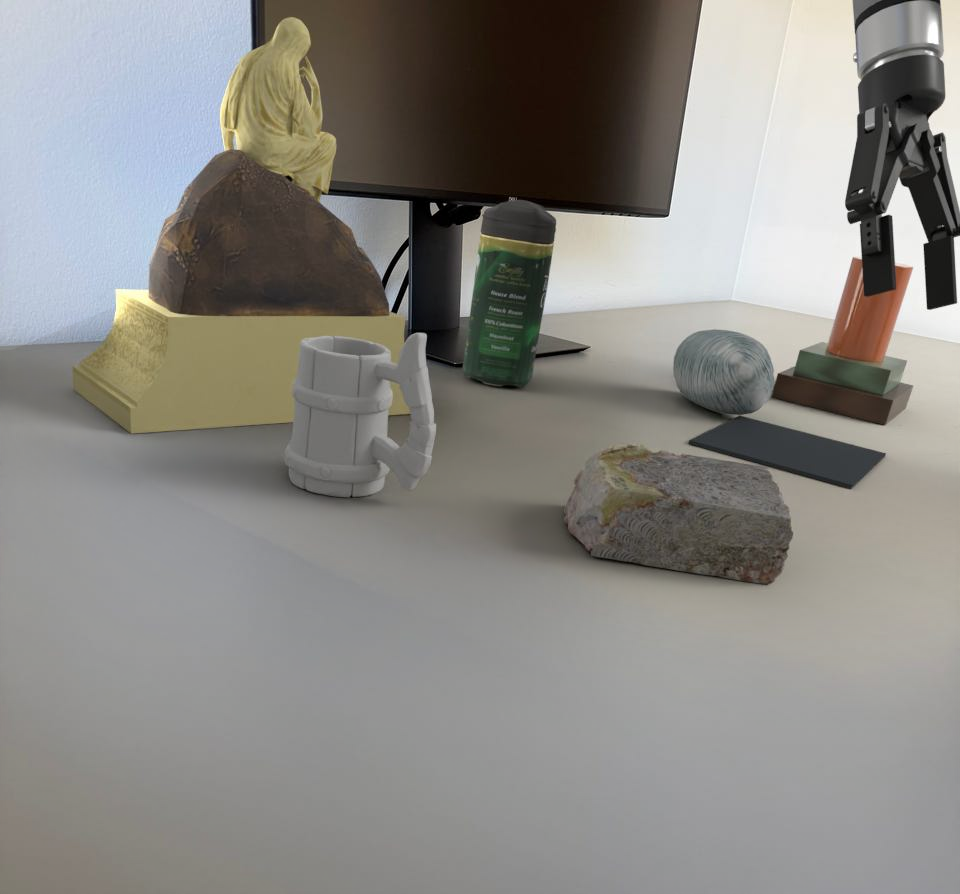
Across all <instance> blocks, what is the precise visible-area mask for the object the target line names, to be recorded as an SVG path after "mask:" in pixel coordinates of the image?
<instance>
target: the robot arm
mask: <svg viewBox="0 0 960 894" xmlns="http://www.w3.org/2000/svg"><path fill="white" fill-rule="evenodd" d="M852 11H853V12H852V13H853V26H854V35H855V37H854V38H855V52H854V53H853V55H852V61H853V63H855V64H856V71H857V73H856V74H857V77H858V79H859V80H860V81H859V83H858V85H857V95H858V96H857V99H858V114H857V115H856V141H855V147H854V153H853V155H852V156H853V157H852V163H851V168H850V172H849V178H848V184H847V188H846V194H845V200H844V206H845V209H846V211H848V212H846V219H847V223H848V224H849V225H853V224H857V223H859V222H860V223H859V235H860V251H861V252H860V253H861V257H862V270H863V287H864V296H866V297H869V296H873V295H877V294H880V293H884V292H888V291H892V290H895V289H896V273H895V262H896V257H895V256H896V255H895V239H894V238H895V237H894V223H893V221H894V220H893V215H892V214H886V213H887V211H888V208H889V206H890V202H891V200H892V197H893V194H894V191H895V189H896V186H897V184H898V180H899V181H900V184H901V185H902V186H903V188H904V187H905V188H907V189H908V191H909V193H910V197H911V198H912V201H913V204H914V207H915V209H916V212H917V215H918V217H919V220H920V223H921V226H922V229H923V231H924V234H925V236H926V239H927V242H925V243H923V247H922V248H923V263H924V265H923V266H924V280H925V281H924V283H925V299H926V300H925V301H926V310H927V311H928V310H929V311H931V310H937V309H939V308H944V307H947V306H952V305H955V304H958V292H957V291H958V289H957V271H956V252H955V238H957V237H960V207H959V202H958V198H957V193H956V189H955V185H954V181H953V175H952V171H951V167H950V163H949V158H948V151H947V143H946V142H947V138H946V135H945V133H944V132H939V133H937V134H934V135H933V132H932V130H931V128H930V123H929V119H930V117H931V116H932V115H933V114H934V113H935V112H936V111H938V110H939V108H941V107H942V106H943V104H944V102H945V100H946V80H945V79H946V78H945V76H946V75H945V63H944V61H943V60H942V59H941V58H942V57H944V52H945V49H944V48H945V47H944V46H945V45H944V31H943V14H942V4H941V0H852ZM860 191H861V192H860ZM884 214H886V215H884Z"/></svg>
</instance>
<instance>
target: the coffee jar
mask: <svg viewBox="0 0 960 894" xmlns="http://www.w3.org/2000/svg"><path fill="white" fill-rule="evenodd" d="M481 216H482V221H481V226H480V234H479V241H478V247H477V248H478V249H477V257H476V265H475V273H474V279H473V280H474V281H473V288H472V295H471V304H470V311H469V312H470V313H469V318H468V319H469V320H468V326H467V333H466V340H465V346H464V354H463V363H462V373H463V375H464V376H465V377H466V378H468V379H473V380H476V381H480V382H482V384H484V385H489V386H493V387H503V386H514V387H516V388H517V387H524V386H525V385H527V384H528V383H529V382H530V381H531V379H532V377H533V374H534V373H533V372H534V367H535V363H536V362H535V361H536V356H537V349H538V343H539V339H540V338H539V337H540V331H541V326H542V320H543V314H544V309H545V303H546V298H547V291H548V288H549V287H548V285H549V281H550V271H551V266H552V259H553V258H552V257H553V252H554V245H555V243H554V242H555V238H556V231H557V219H556V217H555V216H553V215H552V214H551V213H550V212H549V211H547V210H546V209H545V207H544V206H543V205H541V204H538V203H535V202H532V201H530V200H524V199H513V200H512V199H511V200H507V201H504V202H500V203H499V204H497V205H494V206H490V207H488V208H486V209H485V210H484V211H483V214H481Z"/></svg>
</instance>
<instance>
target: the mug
mask: <svg viewBox="0 0 960 894" xmlns="http://www.w3.org/2000/svg"><path fill="white" fill-rule="evenodd" d="M427 338H428V335H427V333H425V332H415V333H413V334H410V335H409V336H408V337H407V339H406V340H405V341H404V344H403V346H402V348H401V350H400V353H399V358H398V365H397V364H395V363H392V362H391V351H390V350H389V349H388V348H386V347H385V346H383V345H380V344H378V343H373V342H370V341H366V340H361V339H356V338H350V337H342V336H334V337H333V338H332V337H331V336H321V337H312V338H304V339H303V340H301V341H300V347H299V358H298V370H297V378H296V379H295V380H294V381H293V385H292V396H293V397H294V398H295V405H294V416H293V422H292V428H291V429H292V431H291V440H290V442H289V443H288V444H287V445H286V447H285V453H284V461H285V464H286V466H288V477H289V480H290V481H291V482H290V483H292V484H293V485H294V486H296V487H298V488H299V489H302V490H306V491H307V492H311V493H315V494H318V495H322V496H323V495H324V496H330V497H338V498H350V497H351V496H352V498H356V497H366V496H372V495H375V494H378V493H379V492H380V491H381V490H383V488H384V486H385V479H386V476H387V475H388V474H389V472H390V471H391V472H392V473H393V475H394V476H395V478H396V480H397V482H398V483H399V485H400V487H401V489H402V490H404V491H406V492H410V491H412V490H414V489H415V488H416V487H417V486H418V483H419V482H420V480H421V478H422V476H425V475H426V474H427V473H428V471H429V468H430V466H431V463H432V460H433V456H432V454H433V448H434V445H435V444H434V443H435V439H436V433H437V423H436V422H435V409H434V403H433V400H432V399H433V394H432V388H431V383H430V378H429V377H430V376H429V368H428V366H427V356H426V355H427V353H426V347H427V340H428V339H427ZM390 381H392V382H395V383H398V384H400V386H399V388H400V390H401V392H402V395H403V398H404V401H405V403H406V405H407V406H408V407H409V411H410V414H409V415H410V418H411V420H410V421H409V431H408V439H407V440H405V441H404V443H403V444H402V445H401V446H400V445H398V444H397V443H396V442H395V441H394V440H393V439H392V438H390V437H389V436H388V426H389V425H388V424H389V420H388V419H389V415H388V409H389V408H390V406H391V405H392V399H393V392H392V390H391V388H390Z"/></svg>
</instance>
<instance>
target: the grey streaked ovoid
mask: <svg viewBox="0 0 960 894" xmlns="http://www.w3.org/2000/svg"><path fill="white" fill-rule="evenodd" d="M774 369H775V368H774V365H773V362H772V358H771V356H770V353H769V352H768V349H767V348H766V347H765V346H764V345H763V344H762V343H761V342H760V341H759V340H758V339H755V338H753V336H750V335H747V334H745V333H743V332H738V331H733V330H728V329H716V328H715V329H705V330H699V331H696V332H693V333H691V334H690V335H688V336H687V337H686V338H684V339H683V340H682V341H681V342H680V344H679V345H678V347H677V349H676V351H675V354H674V356H673V368H672V370H673V378H674V381H675V384H676V387H677V389H678V391H679V392H680V393H681V395H683V396H684V397H685V398H686V399H687V400H689V401H690V402H691V403H693V404H695V405H697V406H699V407H701V408H704V409H707V410H709V411H712V412H715V413H721V414H725V415H732V416H733V415H735V416H736V415H737V416H744V415H749V414H753V413H755V412H757V411H759V410H760V409H761V408H763V407H764V406H765V405H766V403H768V401H769V400H770V398H771V397H772V393H773V389H774V385H775V375H774V372H775V370H774Z"/></svg>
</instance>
